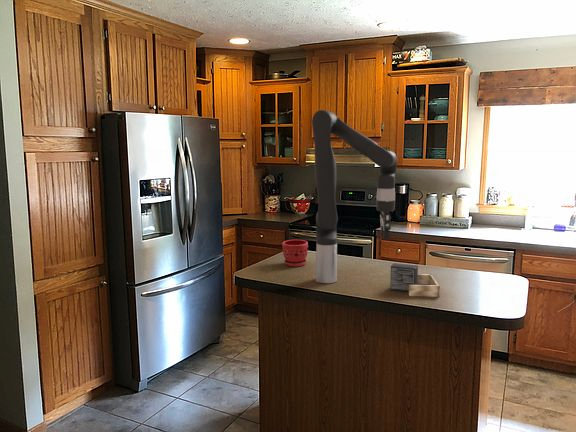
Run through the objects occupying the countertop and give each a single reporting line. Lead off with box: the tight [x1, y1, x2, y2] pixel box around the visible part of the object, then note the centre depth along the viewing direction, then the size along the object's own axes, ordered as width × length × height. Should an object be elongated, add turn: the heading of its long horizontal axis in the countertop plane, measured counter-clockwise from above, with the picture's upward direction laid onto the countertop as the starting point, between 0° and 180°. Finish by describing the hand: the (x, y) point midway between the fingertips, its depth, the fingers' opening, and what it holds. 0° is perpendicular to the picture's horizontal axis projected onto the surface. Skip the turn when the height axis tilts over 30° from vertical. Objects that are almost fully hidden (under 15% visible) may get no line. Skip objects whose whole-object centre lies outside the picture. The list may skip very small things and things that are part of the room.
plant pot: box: [281, 239, 309, 267], centre depth 239 cm, size 13×13×12 cm
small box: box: [389, 262, 419, 293], centre depth 196 cm, size 11×6×10 cm, turn 65°
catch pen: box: [408, 273, 441, 298], centre depth 196 cm, size 12×17×4 cm
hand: (384, 237), depth 195 cm, fingers open, 8 cm apart
